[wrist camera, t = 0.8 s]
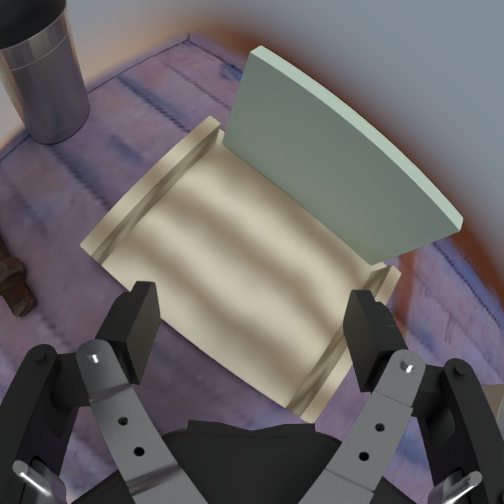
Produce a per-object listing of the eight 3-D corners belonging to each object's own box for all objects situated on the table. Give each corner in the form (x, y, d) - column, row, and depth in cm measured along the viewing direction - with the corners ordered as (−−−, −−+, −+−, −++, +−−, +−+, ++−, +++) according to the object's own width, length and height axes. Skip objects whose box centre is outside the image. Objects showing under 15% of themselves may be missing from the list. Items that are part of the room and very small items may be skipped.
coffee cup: (475, 370, 39) (548, 369, 25) (481, 413, 38) (548, 419, 24) (443, 398, 37) (522, 407, 23) (449, 443, 35) (521, 459, 21)
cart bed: (286, 408, 32) (312, 424, 25) (97, 261, 31) (79, 245, 24) (373, 271, 38) (407, 259, 32) (213, 140, 38) (221, 105, 31)
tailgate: (371, 265, 35) (459, 230, 22) (221, 143, 34) (250, 52, 21) (378, 252, 36) (464, 213, 22) (233, 132, 35) (265, 42, 22)
